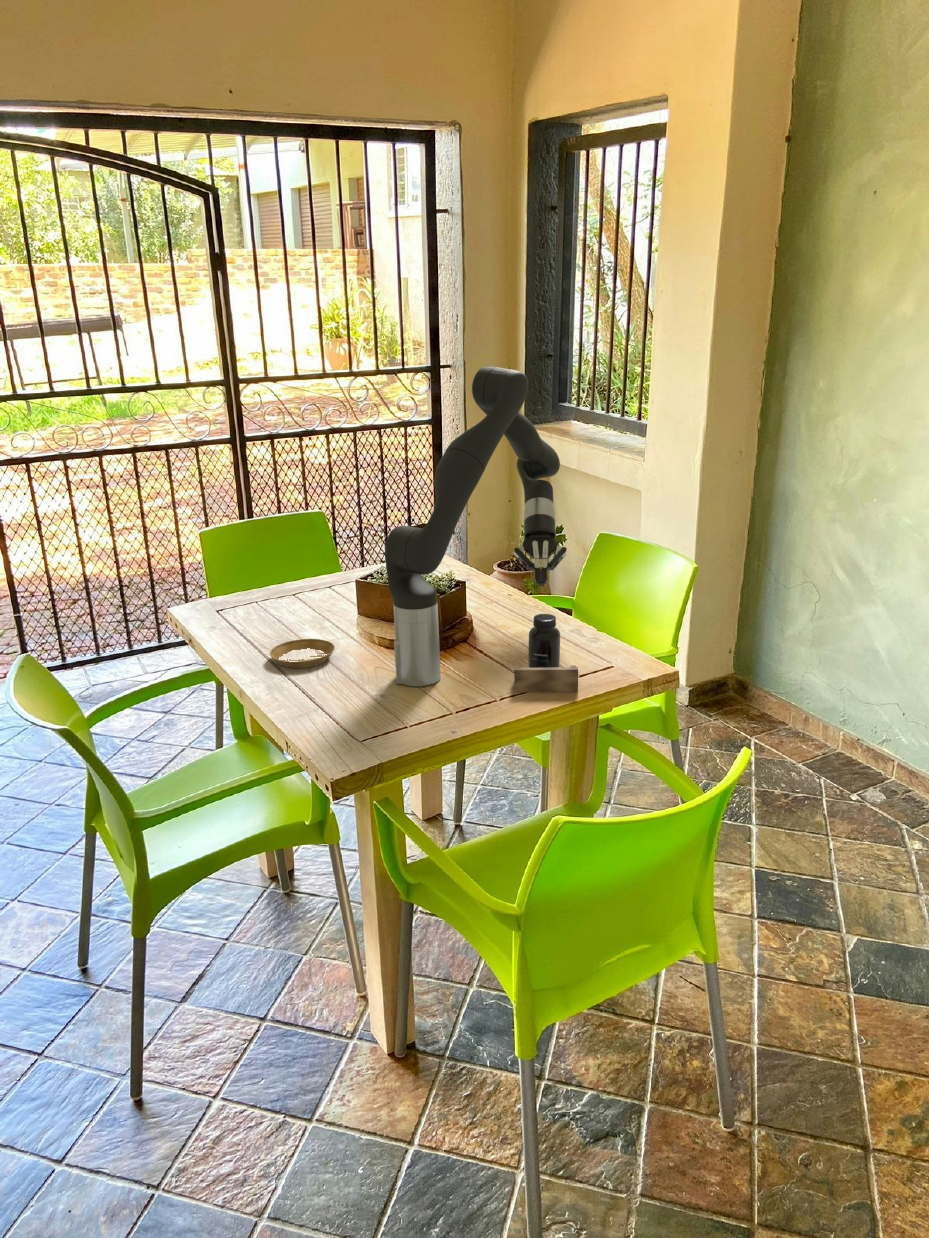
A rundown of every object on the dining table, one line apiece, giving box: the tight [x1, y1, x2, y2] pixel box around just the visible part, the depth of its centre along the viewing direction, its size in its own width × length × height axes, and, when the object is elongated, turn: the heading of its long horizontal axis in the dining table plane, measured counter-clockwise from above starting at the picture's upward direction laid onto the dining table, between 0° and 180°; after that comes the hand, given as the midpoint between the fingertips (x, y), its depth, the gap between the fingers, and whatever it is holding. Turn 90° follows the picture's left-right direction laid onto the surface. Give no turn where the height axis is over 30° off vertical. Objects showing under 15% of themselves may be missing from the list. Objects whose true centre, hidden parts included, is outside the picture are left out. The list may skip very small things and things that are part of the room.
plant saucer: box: [269, 638, 336, 669], centre depth 205 cm, size 15×15×3 cm
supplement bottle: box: [527, 613, 561, 668], centre depth 194 cm, size 7×7×12 cm
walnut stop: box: [513, 665, 579, 693], centre depth 186 cm, size 13×6×5 cm, turn 87°
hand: (541, 584), depth 208 cm, fingers closed
